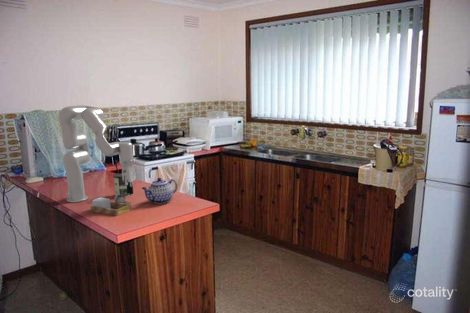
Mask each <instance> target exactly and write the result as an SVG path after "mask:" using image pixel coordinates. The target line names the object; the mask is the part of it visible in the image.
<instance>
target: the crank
mask: <svg viewBox="0 0 470 313" xmlns="http://www.w3.org/2000/svg"><path fill="white" fill-rule="evenodd" d="M133 194H134V192H133V193H129V194H118V195H117V197H121V196H128V197H130V196H129V195H131V196H132V195H133Z"/></svg>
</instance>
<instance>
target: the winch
mask: <svg viewBox="0 0 470 313" xmlns="http://www.w3.org/2000/svg"><path fill="white" fill-rule="evenodd" d="M114 202H116V203H123V204H132V202H131V201H127V200H126V197H125V196H121V197H117V196H114Z"/></svg>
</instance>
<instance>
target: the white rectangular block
mask: <svg viewBox="0 0 470 313" xmlns="http://www.w3.org/2000/svg"><path fill="white" fill-rule="evenodd" d="M91 202H92V203H91V204H92V206H96V207H102V208H109V209H112V207H111V205H110V202H111V199H110V198H108V197H107V198H106V197H98V198H94V199H93V200H91Z"/></svg>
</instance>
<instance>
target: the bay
mask: <svg viewBox="0 0 470 313" xmlns="http://www.w3.org/2000/svg"><path fill="white" fill-rule="evenodd" d="M110 205H111V209H109V208H102V207H96V206H93V205H91V206H89V207H90V212H91V213H98V214H104V215H111V216H117V217H118V216H120V215H123V214H124V213H125V214H126V213H127V212H129V211H132V203H129V204H123V203H116V202H115V201H110Z"/></svg>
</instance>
